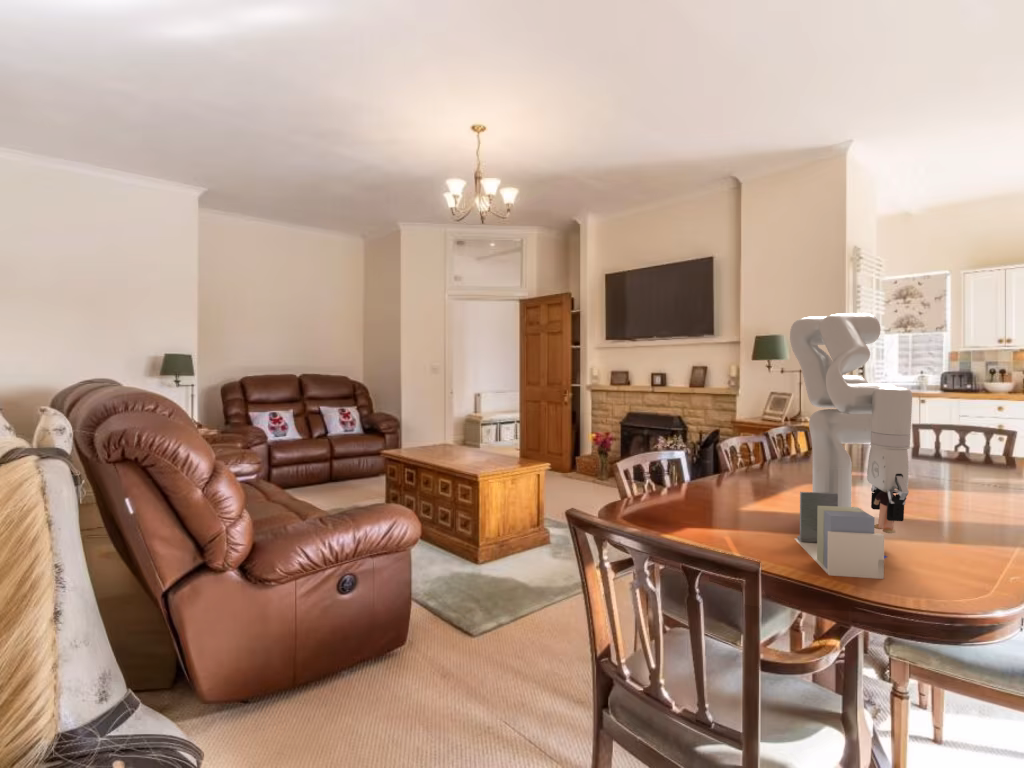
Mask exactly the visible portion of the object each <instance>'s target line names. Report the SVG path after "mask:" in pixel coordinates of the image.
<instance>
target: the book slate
mask: <svg viewBox="0 0 1024 768" xmlns="http://www.w3.org/2000/svg"><path fill="white" fill-rule="evenodd" d="M874 525H875V517H874V516H872V515H871V514H869V513H867V512H866V511H865V512H843V511H824V567H825V568H826V569H827V551H828V531H832V532H853V533H873V534H875V528H874Z"/></svg>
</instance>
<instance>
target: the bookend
mask: <svg viewBox="0 0 1024 768" xmlns="http://www.w3.org/2000/svg"><path fill="white" fill-rule="evenodd" d="M817 506H838V494H837V493H820V492H813V491H800V493H799V535H797V538H796V539H799V540H800V541H801V542H815V543H817Z"/></svg>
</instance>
